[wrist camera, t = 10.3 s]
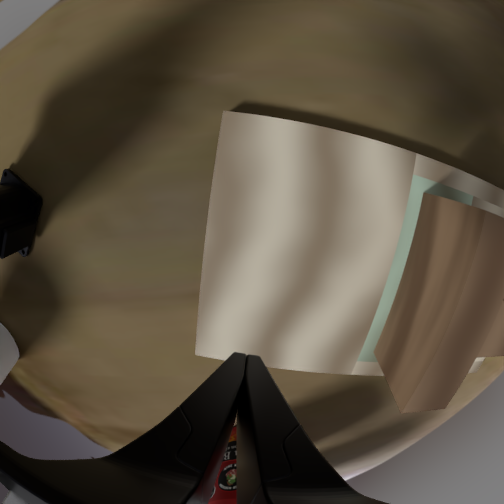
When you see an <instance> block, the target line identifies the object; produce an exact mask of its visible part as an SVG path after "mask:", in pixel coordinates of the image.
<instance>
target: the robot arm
mask: <svg viewBox="0 0 504 504" xmlns="http://www.w3.org/2000/svg"><path fill="white" fill-rule="evenodd" d="M37 201H38V203H37ZM41 205H42V198H41V197H40V196H39V195H38V194H37V193H36V192H35V191H34V190H32V189H31V188H30V187H29V186H28V185H27V184H26V183H24V182H23V181H22V180H21V179H20V178H19V177H18V176H17V175H15V174H14V173H13V172H12V171H11V170H10V169H5V170H4V171H3V174H2V178H1V182H0V258H1V259H3V258H5V257H7V256H9V255H11V254H13V253H15V252H17V251H18V252H19V253H20V254H21V255H22V256H23V257H26V256H28V255H29V251H30V246H31V242H32V238H33V234H34V230H35V227H36V223H37V219H38V216H39V212H40V209H41ZM237 410H238V411H237ZM236 415H237V504H389V503H385V502H382V501H378V500H375V499H372V498H369V497H366V496H364V495H362V494H360V493H358V492H357V491H355V490H354V489H353V488H352V487H350V486H349V485H348V484H347V483H346V481H345V480H344V479H343V478H342V477H341V476H340V475H339V474H338V473H337V472H336V470H335V469H334V468H333V467H332V466H331V465H330V464H329V462H328V461H327V460H326V459H325V458H324V457H323V455H322V454H321V453H320V452H319V451H318V449H317V448H316V447H315V446H314V444H313V443H312V441H311V440H310V438H309V437H308V435H307V434H306V432H305V431H304V429H303V427H302V426H301V425H300V423H299V421H298V419H297V418H296V416H295V415H294V413H293V411H292V410H291V408H290V406H289V405H288V403H287V401H286V400H285V398H284V396H283V395H282V393H281V391H280V390H279V388H278V386H277V385H276V383H275V381H274V379H273V378H272V376H271V374H270V373H269V371H268V369H267V367H266V366H265V364H264V362H263V360H262V359H261V357H260V356H258V355H252V354H248V355H246V354H245V353H239V352H234V353H232V354H231V355H230V356H229V357H228V358H227V359H226V361H225V362H224V363H223V364H222V365H221V366H220V367H219V368H218V369H217V370H216V371H215V372H214V373H213V374H212V375H211V376H210V377H209V378H207V379H206V380H205V381H204V382H203V383H202V384H201V385H200V386H199V387H198V388H197V389H196V390H195V391H194V392H193V393H192V394H191V395H190V396H189V397H188V398H187V399H186V400H185V401H184V402H183V403H182V404H181V405H180V406H179V407H177V408H176V409H175V410H174V411H173V412H172V413H171V414H170V415H169V416H167V417H166V418H165V419H164V420H163V421H161V422H160V423H159V424H158V425H156V426H155V427H153V428H152V429H151V430H149V431H148V432H146V433H145V434H143V435H142V436H140V437H138V438H137V439H135V440H134V441H132V442H131V443H129V444H127V445H126V446H124V447H123V448H121V449H119V450H118V451H116V452H114V453H112V454H110V455H108V456H105V457H102V458H96V459H80V460H39V459H33V458H29V457H26V456H24V455H21V454H19V453H18V452H16V451H14V450H13V449H12V448H10V447H9V446H7V445H6V444H5V443H3V442H1V441H0V482H1V483H2V484H3V485H4V486H5V487H6V488H7V489H8V490H9V492H8V494H7V495H6V497H5V499H4V500H3V502H2V504H208V502H209V499H210V496H211V493H212V490H213V487H214V484H215V481H216V478H217V475H218V472H219V469H220V466H221V463H222V460H223V457H224V454H225V451H226V448H227V445H228V442H229V439H230V435H231V432H232V429H233V426H234V423H235V419H236Z"/></svg>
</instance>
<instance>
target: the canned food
mask: <svg viewBox="0 0 504 504" xmlns="http://www.w3.org/2000/svg"><path fill="white" fill-rule="evenodd" d="M208 504H237V427H234V428H233V429H232V432H231V435H230V439H229V442H228V445H227V448H226V451H225V454H224V457H223V460H222V463H221V466H220V469H219V472H218V475H217V478H216V481H215V484H214V487H213V490H212V493H211V496H210V499H209V502H208Z"/></svg>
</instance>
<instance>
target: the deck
mask: <svg viewBox="0 0 504 504" xmlns="http://www.w3.org/2000/svg"><path fill="white" fill-rule="evenodd" d="M423 192H425V193H429V194H432V195H436V196H440V197H443V198H447V199H450V200H454V201H457V202H461V203H464V204H467V205H470V206H474V207H477V208H480V209H483V210H486V211H489V212H491V213H493V214H496V215H498V216H501V217H503V218H504V190H502V189H500V188H498V187H496V186H494V185H492V184H490V183H488V182H486V181H484V180H482V179H480V178H477V177H475V176H473V175H471V174H468V173H466V172H464V171H461V170H459V169H457V168H454V167H452V166H449V165H447V164H444V163H442V162H439V161H436V160H434V159H431V158H428V157H426V156H423V155H420V154H417V153H414V152H411V151H409V150H406V149H403V148H399V147H396V146H393V145H390V144H387V143H383V142H380V141H377V140H373V139H370V138H366V137H362V136H359V135H355V134H351V133H347V132H343V131H339V130H335V129H331V128H326V127H322V126H317V125H312V124H308V123H302V122H297V121H292V120H286V119H281V118H275V117H268V116H262V115H255V114H247V113H239V112H231V111H223V115H222V121H221V128H220V134H219V140H218V147H217V153H216V160H215V167H214V174H213V181H212V189H211V196H210V204H209V212H208V220H207V228H206V237H205V246H204V255H203V265H202V275H201V286H200V297H199V308H198V321H197V334H196V349H195V355H199V356H204V357H209V358H215V359H220V360H226V359H227V358H228V357H229V356H230V355H231V354H232V353H234V352H239V353H245V354H246V355H248V354H252V355H258V356H260V357H261V359H262V360H263V362H264V364H265V366H266V367H272V368H280V369H288V370H298V371H308V372H319V373H332V374H348V375H372V376H384V374H383V372H382V370H381V368H380V365H379V363H378V361H377V359H376V357H375V355H374V353H373V352H374V349H375V347H376V345H377V342H378V340H379V338H380V335H381V333H382V330H383V328H384V325H385V323H386V320H387V317H388V315H389V312H390V309H391V306H392V304H393V301H394V298H395V295H396V292H397V289H398V286H399V283H400V280H401V277H402V274H403V271H404V268H405V264H406V261H407V257H408V254H409V250H410V247H411V243H412V239H413V236H414V232H415V228H416V224H417V220H418V215H419V211H420V206H421V202H422V197H423ZM484 358H485V357H480V358H476V359H475V361H474V363H473V365H472V367H471V368H470V370H469V372H468V373H474V372H477V371H478V369H479V367H480V366H481V364H482V362H483V360H484Z"/></svg>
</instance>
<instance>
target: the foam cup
mask: <svg viewBox="0 0 504 504" xmlns="http://www.w3.org/2000/svg"><path fill="white" fill-rule="evenodd" d="M18 358H19V351H18V347H17V345H16V343H15V341H14V339H13V337H12V336H11V334H10V333H9V331H8V330H7V329H6V328H5V327H4V326H3V325H2V324H1V323H0V385H1V383H2V382H3V380H4V379H5V377H6V376H7V375H8V373H9V372H10V370H11V369H12V367H13V366H14V365H15V363H16V361H17V360H18Z"/></svg>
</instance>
